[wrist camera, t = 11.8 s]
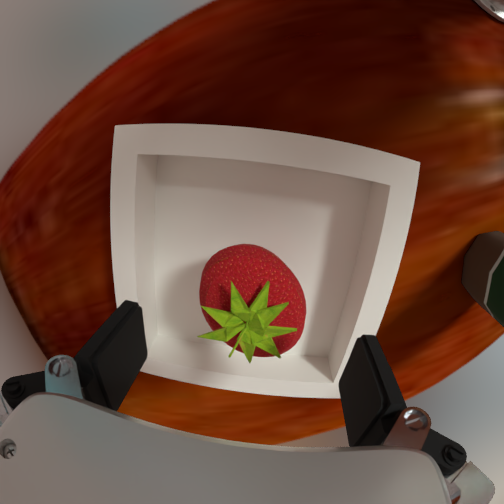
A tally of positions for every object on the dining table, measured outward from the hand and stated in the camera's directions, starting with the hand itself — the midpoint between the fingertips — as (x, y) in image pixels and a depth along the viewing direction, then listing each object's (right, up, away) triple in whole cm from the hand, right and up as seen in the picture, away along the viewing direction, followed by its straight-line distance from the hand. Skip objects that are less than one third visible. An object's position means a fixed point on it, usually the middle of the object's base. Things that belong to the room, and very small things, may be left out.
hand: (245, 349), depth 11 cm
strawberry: (+1, +3, +10) cm, 11 cm away
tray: (0, +3, +11) cm, 12 cm away
